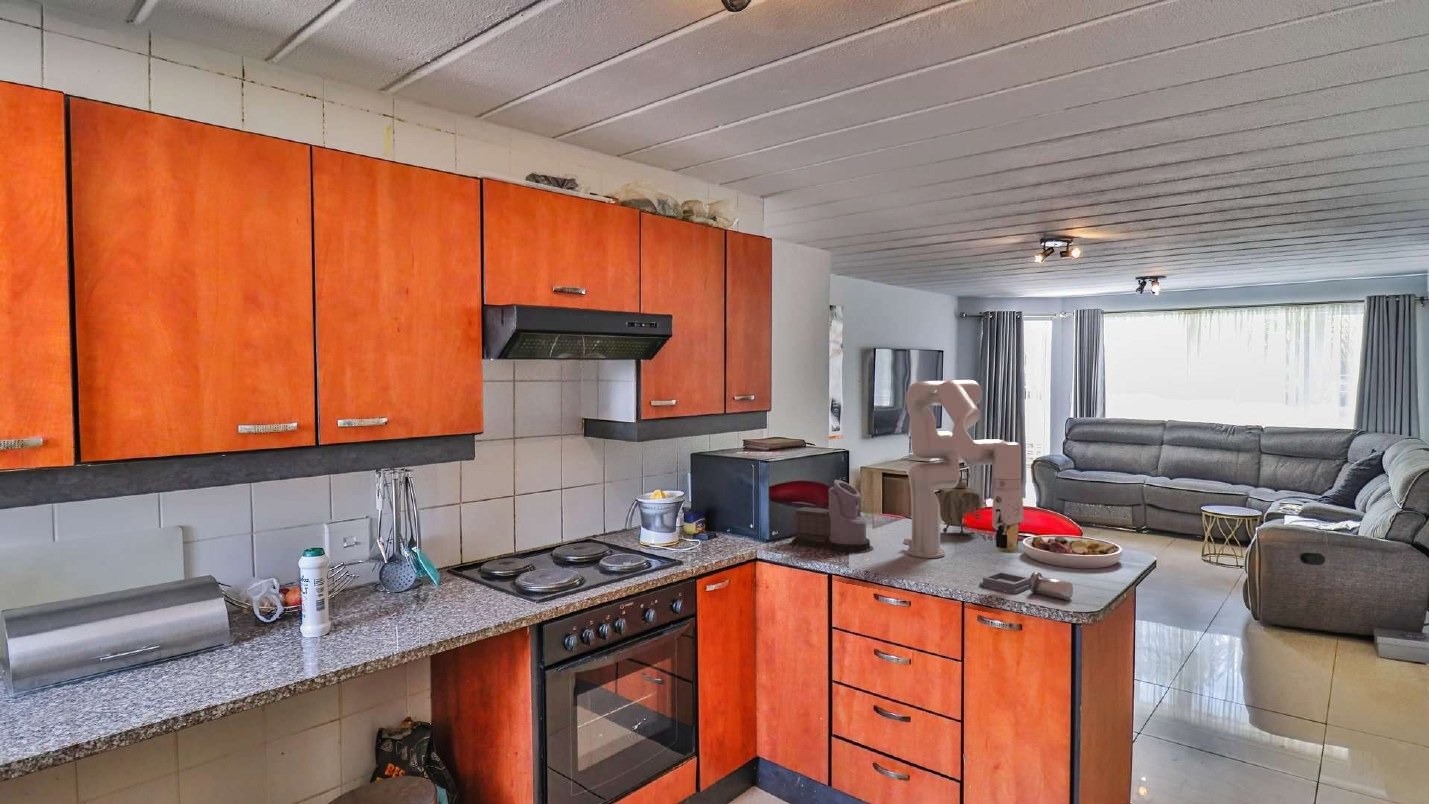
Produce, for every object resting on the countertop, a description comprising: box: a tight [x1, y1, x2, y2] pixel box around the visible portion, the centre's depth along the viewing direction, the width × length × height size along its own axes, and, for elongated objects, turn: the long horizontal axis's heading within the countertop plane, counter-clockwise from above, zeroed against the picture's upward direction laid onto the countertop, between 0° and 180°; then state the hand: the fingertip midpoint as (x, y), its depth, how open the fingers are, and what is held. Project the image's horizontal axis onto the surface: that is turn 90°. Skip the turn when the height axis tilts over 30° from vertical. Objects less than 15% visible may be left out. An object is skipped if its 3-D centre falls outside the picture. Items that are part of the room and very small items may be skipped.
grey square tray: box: [979, 571, 1030, 595], centre depth 217 cm, size 11×11×2 cm
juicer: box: [788, 479, 874, 555], centre depth 270 cm, size 30×16×24 cm, turn 57°
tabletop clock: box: [939, 469, 983, 536], centre depth 287 cm, size 14×9×25 cm, turn 85°
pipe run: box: [1029, 571, 1074, 601], centre depth 207 cm, size 10×6×6 cm, turn 40°
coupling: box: [996, 522, 1019, 554], centre depth 216 cm, size 6×6×8 cm
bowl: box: [1021, 534, 1123, 569], centre depth 248 cm, size 30×30×8 cm
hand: (1007, 545), depth 216 cm, fingers closed on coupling, 5 cm apart
